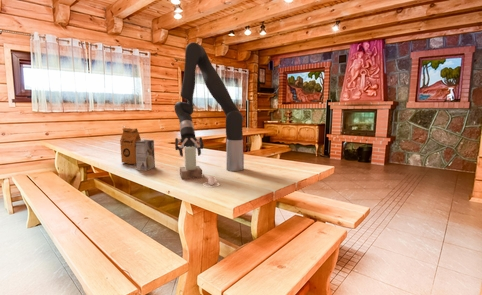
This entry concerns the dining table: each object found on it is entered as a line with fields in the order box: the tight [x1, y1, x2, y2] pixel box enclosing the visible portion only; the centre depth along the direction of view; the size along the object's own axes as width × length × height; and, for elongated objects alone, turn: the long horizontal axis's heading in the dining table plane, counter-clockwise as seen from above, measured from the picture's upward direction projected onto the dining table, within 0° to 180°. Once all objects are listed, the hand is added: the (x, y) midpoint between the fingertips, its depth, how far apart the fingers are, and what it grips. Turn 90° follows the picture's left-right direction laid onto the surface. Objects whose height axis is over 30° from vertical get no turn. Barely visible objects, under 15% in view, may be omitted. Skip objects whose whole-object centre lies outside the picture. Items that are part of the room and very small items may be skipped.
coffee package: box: [119, 127, 142, 166], centre depth 163 cm, size 10×12×22 cm
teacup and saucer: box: [202, 175, 221, 188], centre depth 123 cm, size 9×8×4 cm
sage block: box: [184, 146, 197, 170], centre depth 135 cm, size 5×5×11 cm
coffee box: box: [135, 139, 156, 172], centre depth 150 cm, size 9×6×16 cm
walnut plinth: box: [179, 165, 203, 180], centre depth 136 cm, size 10×10×4 cm
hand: (190, 155), depth 134 cm, fingers open, 8 cm apart
